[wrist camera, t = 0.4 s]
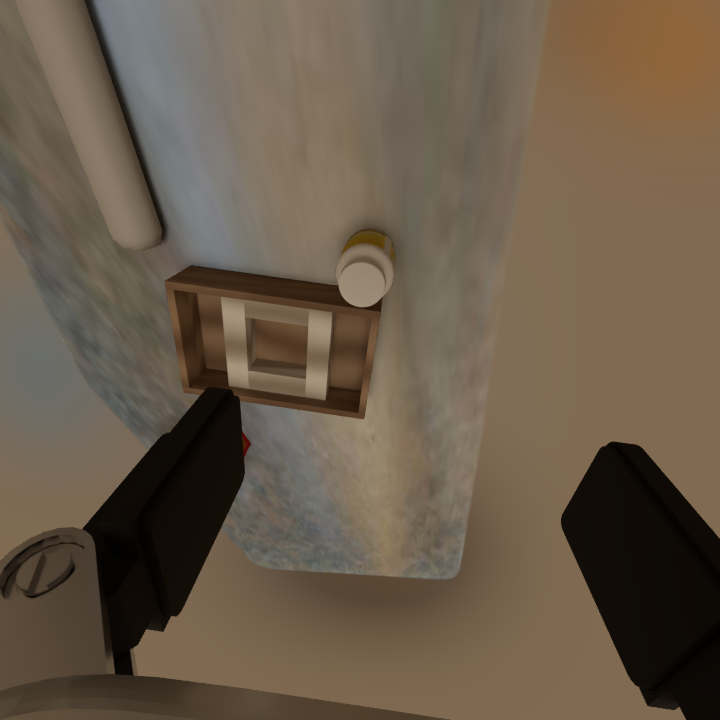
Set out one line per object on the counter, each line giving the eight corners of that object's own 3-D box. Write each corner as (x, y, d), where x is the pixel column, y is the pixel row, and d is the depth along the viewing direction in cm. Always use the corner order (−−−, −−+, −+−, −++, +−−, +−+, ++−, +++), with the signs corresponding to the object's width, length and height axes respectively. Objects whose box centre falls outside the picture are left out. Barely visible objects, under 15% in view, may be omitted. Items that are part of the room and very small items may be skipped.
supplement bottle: (334, 250, 39) (316, 279, 31) (373, 216, 37) (366, 238, 29) (366, 288, 41) (357, 325, 33) (405, 258, 39) (407, 290, 30)
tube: (164, 252, 37) (34, -126, 24) (108, 260, 36) (-59, -129, 23) (175, 241, 42) (69, -83, 29) (124, 247, 41) (-8, -84, 28)
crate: (191, 265, 41) (164, 281, 37) (382, 292, 41) (380, 311, 36) (204, 368, 49) (183, 392, 44) (367, 392, 48) (364, 419, 43)
